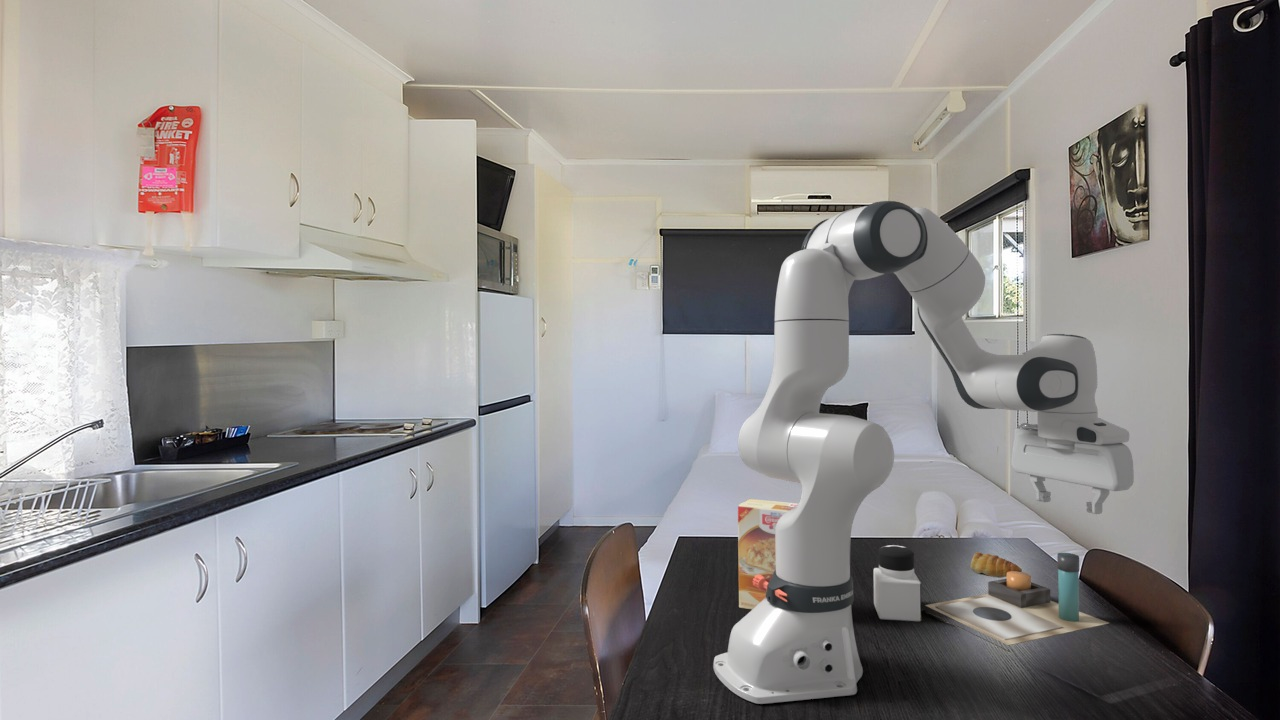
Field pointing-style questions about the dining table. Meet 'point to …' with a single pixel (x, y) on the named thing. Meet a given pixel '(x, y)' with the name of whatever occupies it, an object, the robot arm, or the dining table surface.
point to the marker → (1068, 586)
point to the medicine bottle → (897, 585)
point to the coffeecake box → (757, 545)
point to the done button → (1019, 580)
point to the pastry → (992, 565)
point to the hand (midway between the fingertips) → (1068, 507)
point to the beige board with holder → (1012, 614)
